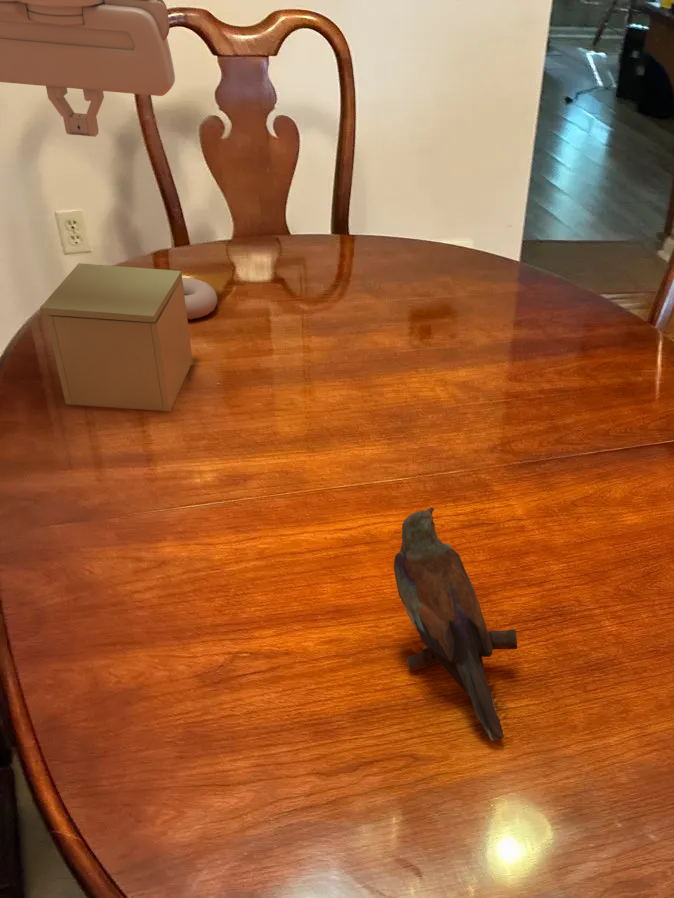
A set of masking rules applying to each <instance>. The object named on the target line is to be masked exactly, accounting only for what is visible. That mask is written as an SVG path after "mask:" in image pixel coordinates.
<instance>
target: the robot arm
mask: <svg viewBox="0 0 674 898" xmlns="http://www.w3.org/2000/svg"><path fill="white" fill-rule="evenodd" d="M169 33H170V18H169V10H168V8H167V4H166V2H165V1H164V0H0V83H8V84H19V85H31V86H41V87H45V89H46V94H47V99H48V100H49V101H50V102H51V104H52V105H53V107H54V108H55V109H56V111H57V113H58V114H59V115H60V116H61V117H62V118H63V124H64V125H63V126H64V129H65V133H66V135H68V136H69V135H71V136H83V137H97V136H98V135H99V124H98V118H97V115H98V113H99V111H100V109H101V106H102V103H103V101H104V99H105V94H104V92H109V93H110V92H111V93H121V94H122V93H123V94H131V95H132V94H134V95H142V96H143V95H145V96H157V97H163V96H166V95H167V94H168V93H169V91H170V90H171V89H172V87H173V86H174V84H175V81H176V75H175V68H174V63H173V57H172V52H171V48H170V44H169V40H168V36H169ZM68 89H77V90H82V93H83V97H84V100H85V101H86V102H90V103H89V105H88V108H87V112H86V113H81V112H80V113H79V112H75V111H74V109H73V108H72V107H71V105H70V103H69V102H68V100H67V99H66V97H65V96H66V95H67V94H68Z"/></svg>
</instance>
